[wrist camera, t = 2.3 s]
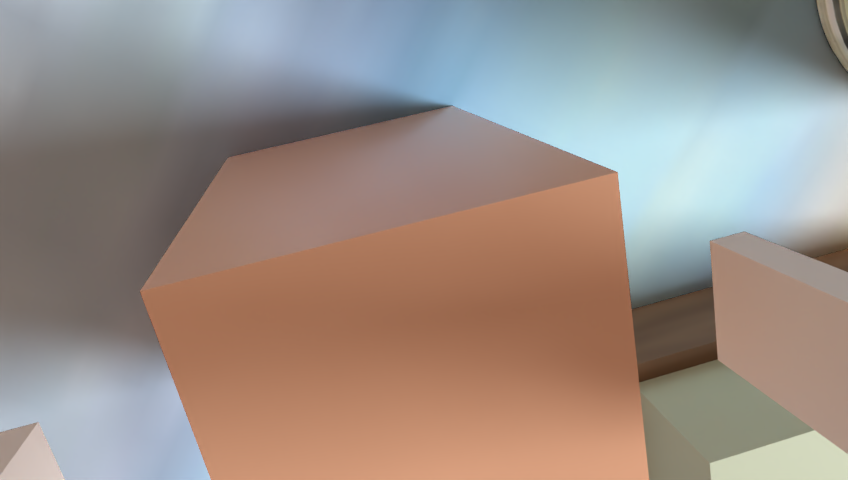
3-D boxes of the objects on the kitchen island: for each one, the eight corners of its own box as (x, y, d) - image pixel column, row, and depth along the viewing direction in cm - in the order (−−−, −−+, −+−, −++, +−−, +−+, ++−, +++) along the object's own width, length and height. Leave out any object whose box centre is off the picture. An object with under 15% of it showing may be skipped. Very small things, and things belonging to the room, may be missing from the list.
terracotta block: (228, 157, 19) (139, 291, 9) (451, 105, 20) (617, 171, 9) (289, 359, 21) (278, 657, 11) (489, 306, 22) (654, 537, 12)
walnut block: (553, 321, 23) (601, 374, 20) (888, 228, 25) (992, 260, 21) (596, 603, 28) (642, 689, 24) (878, 509, 29) (963, 577, 26)
